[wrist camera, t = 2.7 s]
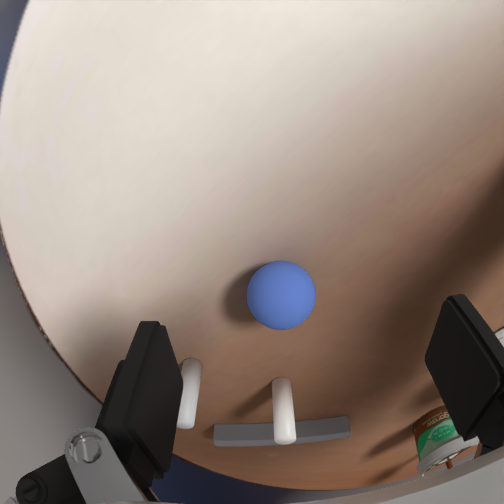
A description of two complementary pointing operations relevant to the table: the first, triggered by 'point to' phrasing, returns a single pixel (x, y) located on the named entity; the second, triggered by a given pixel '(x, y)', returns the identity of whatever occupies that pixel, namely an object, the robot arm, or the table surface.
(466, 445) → the food container
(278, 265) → the ball
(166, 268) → the table surface
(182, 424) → the grey pin
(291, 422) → the white pin
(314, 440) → the stopper wall
